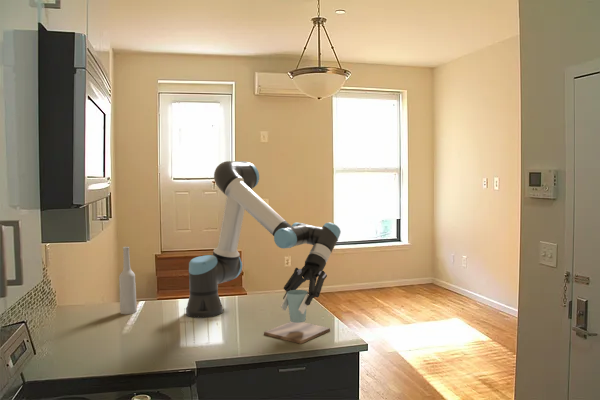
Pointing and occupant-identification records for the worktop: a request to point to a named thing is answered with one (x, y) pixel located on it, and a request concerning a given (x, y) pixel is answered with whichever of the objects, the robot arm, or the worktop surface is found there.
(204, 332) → the worktop surface
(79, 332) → the worktop surface
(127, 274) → the bottle
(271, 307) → the worktop surface
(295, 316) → the cup
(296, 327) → the board
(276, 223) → the robot arm
